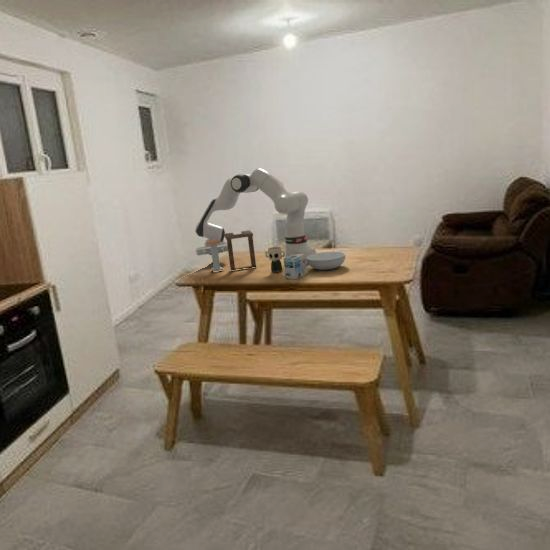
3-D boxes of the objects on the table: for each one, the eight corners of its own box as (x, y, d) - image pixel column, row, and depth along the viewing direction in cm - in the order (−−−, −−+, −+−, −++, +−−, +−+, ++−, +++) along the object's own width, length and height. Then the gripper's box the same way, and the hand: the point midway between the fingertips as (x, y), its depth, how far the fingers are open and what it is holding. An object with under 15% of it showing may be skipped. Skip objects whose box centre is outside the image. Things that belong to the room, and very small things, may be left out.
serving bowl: (348, 262, 268) (347, 250, 266) (343, 272, 248) (342, 259, 247) (311, 264, 274) (310, 252, 272) (303, 273, 254) (302, 261, 253)
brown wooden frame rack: (228, 267, 289) (224, 233, 284) (253, 263, 291) (249, 230, 286) (230, 272, 276) (226, 237, 271) (257, 268, 278) (252, 233, 273)
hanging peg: (209, 270, 285) (205, 240, 281) (223, 268, 287) (219, 238, 282) (210, 273, 278) (206, 242, 273) (224, 271, 279) (220, 240, 275)
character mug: (265, 273, 264) (262, 249, 261) (269, 270, 271) (266, 247, 267) (284, 272, 261) (282, 248, 258) (288, 269, 267) (285, 246, 264)
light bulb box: (295, 279, 245) (293, 258, 242) (284, 278, 249) (282, 258, 246) (307, 274, 253) (305, 253, 250) (296, 273, 257) (294, 253, 254)
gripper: (194, 245, 303) (195, 249, 290) (227, 240, 306) (229, 244, 293) (196, 255, 305) (197, 259, 292) (229, 250, 308) (231, 254, 295)
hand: (213, 251), depth 292 cm, fingers open, 8 cm apart
